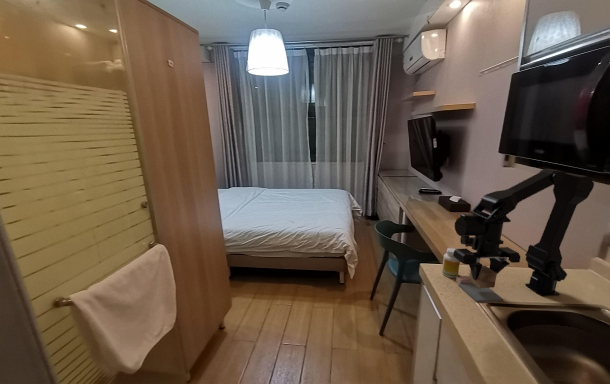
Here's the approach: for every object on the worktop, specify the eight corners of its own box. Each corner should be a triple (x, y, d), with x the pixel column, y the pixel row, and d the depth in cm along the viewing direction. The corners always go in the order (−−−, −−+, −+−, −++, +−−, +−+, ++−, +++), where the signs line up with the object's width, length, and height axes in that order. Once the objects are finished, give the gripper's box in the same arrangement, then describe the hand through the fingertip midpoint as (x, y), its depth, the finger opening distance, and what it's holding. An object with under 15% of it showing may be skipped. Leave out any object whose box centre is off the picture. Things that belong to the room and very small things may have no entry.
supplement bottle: (459, 278, 99) (463, 254, 97) (443, 277, 100) (447, 252, 98) (455, 271, 104) (458, 247, 102) (439, 269, 105) (443, 246, 103)
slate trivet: (482, 284, 96) (483, 283, 95) (503, 300, 87) (503, 299, 87) (458, 285, 95) (458, 284, 95) (476, 302, 86) (476, 300, 86)
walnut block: (483, 278, 93) (485, 265, 92) (494, 287, 88) (496, 273, 87) (469, 279, 92) (471, 266, 91) (479, 288, 87) (481, 273, 86)
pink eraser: (468, 280, 98) (469, 275, 98) (472, 283, 97) (473, 278, 96) (455, 282, 98) (456, 276, 97) (459, 285, 96) (460, 280, 95)
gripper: (498, 224, 95) (491, 266, 98) (446, 226, 93) (441, 268, 97) (526, 237, 84) (516, 283, 87) (468, 239, 82) (460, 285, 86)
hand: (482, 279), depth 90 cm, fingers closed on walnut block, 5 cm apart
